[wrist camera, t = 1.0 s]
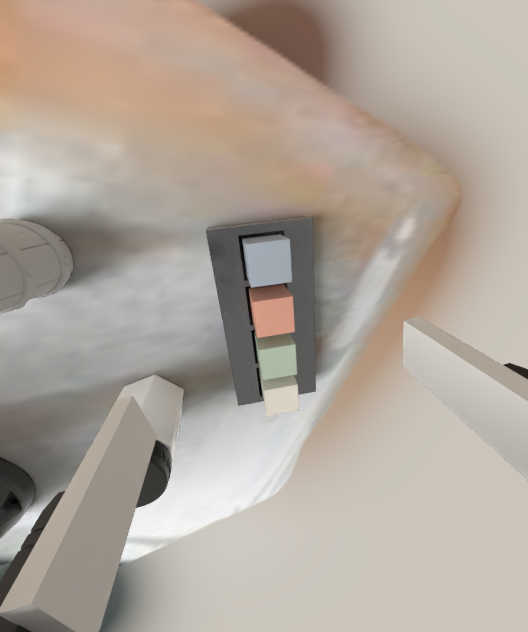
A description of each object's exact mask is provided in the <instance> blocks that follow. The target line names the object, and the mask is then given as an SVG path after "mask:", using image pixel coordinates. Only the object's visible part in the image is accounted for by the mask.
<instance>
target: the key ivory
mask: <svg viewBox="0 0 528 632" xmlns="http://www.w3.org/2000/svg"><path fill="white" fill-rule="evenodd" d="M259 372H260V379H261V387H262V394H263V398H264V403H265V408H266V413H267V416H271V415H277V414H282V413H287V412H292V411H298V410H299V400H298V384H297V382H296V379H295V377H294V375H290V376H284V377H279V378H273V379H267V380H263V379H262V375H261V371H260V368H259Z"/></svg>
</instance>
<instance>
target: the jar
mask: <svg viewBox="0 0 528 632" xmlns="http://www.w3.org/2000/svg"><path fill="white" fill-rule="evenodd" d="M132 395H133V396H134V398H135V400H136V401H137V403H138V405H139V407H140V408H141V410H142V412H143V413H144V415H145V417H146V418H147V420H148V422H149V423H150V425H151V427H152V428H153V430H154V432H155V433H156V435H157V438H156V441H155V445H154V448H153V451H152V455H151V458H150V461H149V465H148V468H147V472H146V475H145V478H144V482H143V485H142V488H141V492H140V495H139V499H138V502H137V505H136V508H137V507H141V506H144V505H147V504H149V503H151V502H153V501H155V500H156V499H158V498H159V497H160V496H161V495H162V494H163V492H164V491H165V489H166V487H167V484H168V481H169V478H170V473H171V467H172V462H173V456H174V451H175V446H176V441H177V439H178V433H179V427H180V421H181V416H182V408H183V396H184V389H183V388H181V387H179V386H177V385H175V384H173V383H171V382H169V381H167V380H165V379H163V378H161V377H159V376H157V375H152V376H150V377H147V378H144V379H142V380H139V381H137V382H134V383H131V384H129V385H126V386H124V388H123V389H122V391H121V393H120V395H119V397H118V398H117V400H118V399H121V398H125V397H129V396H132Z"/></svg>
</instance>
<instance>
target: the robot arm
mask: <svg viewBox="0 0 528 632" xmlns="http://www.w3.org/2000/svg"><path fill="white" fill-rule="evenodd" d="M403 367H404V368H405V369H406V370H407V371H408V372H409V373H411V374H412V375H413V376H414V377H415V378H416V379H417V380H418V381H419V382H420V383H421V384H423V385H424V386H425V387H426V388H427V389H428V390H429V391H430V392H431V393H432V394H434V395H435V396H436V397H437V398H438V399H439V400H440V401H441V402H442V403H443V404H444V405H446V406H447V407H448V408H449V409H450V410H451V411H452V412H453V413H454V414H455V415H457V416H458V417H459V418H460V419H461V420H462V421H463V422H464V423H465V424H466V425H467V426H469V427H470V428H471V429H472V430H473V431H474V432H475V433H476V434H477V435H478V436H480V437H481V438H482V439H483V440H484V441H485V442H486V443H487V444H488V445H489V446H490V447H492V448H493V449H494V450H495V451H496V452H497V453H498V454H499V455H500V456H502V457H503V458H504V459H505V460H506V461H507V462H508V463H509V464H510V465H511V466H512V467H514V468H515V469H516V470H517V471H518V472H519V473H520V474H521V475H522V476H523V477H524V478H526V479H527V480H528V369H526V368H523V367H520V366H516V365H514V364H511V363H508V364H505V365H502V364H500V363H498V362H497V361H495V360H493V359H492V358H490V357H488V356H486V355H485V354H483V353H481V352H479V351H478V350H476V349H474V348H472V347H470V346H469V345H467V344H466V343H464V342H462V341H460V340H459V339H457V338H455V337H454V336H452V335H450V334H448V333H447V332H445V331H443V330H441V329H440V328H438V327H436V326H434V325H433V324H431V323H429V322H427V321H426V320H424V319H422V318H421V317H415V318H411V319H408V320H405V321H404V330H403ZM156 438H157V435H156V433H155V432H154V430H153V428H152V427H151V425H150V423H149V422H148V420H147V418H146V417H145V415H144V413H143V412H142V410H141V408H140V407H139V405H138V403H137V401H136V400H135V398H134V396H133V395H132V396H129V397H125V398H121V399H118V400H116V402H115V403H114V405H113V407H112V409H111V410H110V412H109V414H108V416H107V418H106V419H105V421H104V423H103V425H102V427H101V428H100V430H99V432H98V434H97V435H96V437H95V439H94V441H93V443H92V444H91V446H90V448H89V450H88V452H87V453H86V455H85V457H84V459H83V460H82V462H81V464H80V466H79V468H78V469H77V471H76V473H75V475H74V477H73V478H72V480H71V482H70V484H69V485H68V487H67V489H66V491H63V492H59V493H58V494H57V495H56V496H55V497H54V498H53V500H52V501H51V502H50V503H49V504H48V505H47V506H46V508H45V509H44V510H43V511H42V513H41V515H40V516H39V518H38V520H37V521H36V523H35V525H34V526H33V528H32V530H31V534H29V535H28V536H27V538H26V540H25V541H24V543H23V545H22V546H21V551H19V552H18V553H17V555H16V556H15V558H14V560H13V561H12V563H11V565H10V566H9V568H8V570H7V571H6V573H5V575H4V576H3V578H2V580H1V582H0V632H99V630H100V626H101V623H102V620H103V616H104V613H105V610H106V606H107V603H108V599H109V596H110V592H111V589H112V586H113V582H114V579H115V576H116V573H117V569H118V566H119V562H120V559H121V556H122V552H123V549H124V546H125V542H126V539H127V536H128V532H129V529H130V525H131V522H132V519H133V515H134V512H135V509H136V505H137V502H138V499H139V495H140V492H141V488H142V485H143V482H144V478H145V475H146V472H147V468H148V465H149V461H150V458H151V455H152V451H153V448H154V445H155V441H156ZM34 497H35V487H34V484H33V482H32V480H31V479H30V478H29V476H28V475H27V474H26V473H25V472H23V471H22V470H21V469H19V468H18V467H16V466H14V465H13V464H11V463H8V462H6V461H4V460H1V459H0V539H1V538H2V537H3V536H4V535H5V534H6V533H7V532H8V531H9V530H10V529H11V528H12V527H13V526H14V525H15V524H16V523H17V522H18V521H19V520H20V519H21V518H22V516H23V515H24V514H25V512H26V510H27V509H28V507H29V506H30V504H31V503H32V501H33V499H34Z"/></svg>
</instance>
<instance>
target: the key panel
mask: <svg viewBox="0 0 528 632" xmlns="http://www.w3.org/2000/svg"><path fill="white" fill-rule="evenodd" d="M272 231H279V234H281V235H283V236H285V237H287V238H289V239H290V253H291V271H292V282H288V283H282V284H284V286H285V287H286V288H287V289H288V291H289V292H290V293H291V295H292V296H293V308H294V326H295V332H292V333H290V335H291V337H292V339H293V341H294V342H295V345H296V364H297V374H296V375H294V377H295V379H296V382H297V384H298V395H299V394H304V393H310V392H315V391H316V379H315V320H314V262H313V218H310V217H298V218H289V219H281V220H272V221H264V222H255V223H246V224H238V225H229V226H221V227H212V228H207V230H206V234H207V239H208V245H209V250H210V256H211V261H212V266H213V272H214V277H215V282H216V288H217V293H218V298H219V304H220V309H221V315H222V320H223V325H224V331H225V336H226V341H227V347H228V352H229V358H230V363H231V368H232V374H233V379H234V384H235V390H236V395H237V401H238V406H239V405H245V404H250V403H255V402H261V401H264V398H263V394H262V387H261V382H259V383H258V378H257V371H256V368H260V366H259V362H258V356H257V351H254V349H253V342H252V334H251V331H252V330H255V327H254V323H253V318H252V315H249V312H248V305H247V298H246V290H245V287H249V286H250V283H249V280H248V277H247V274H243V268H242V261H241V254H240V246H239V239H238V236H239V235H247V234H255V233H264V232H272Z"/></svg>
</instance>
